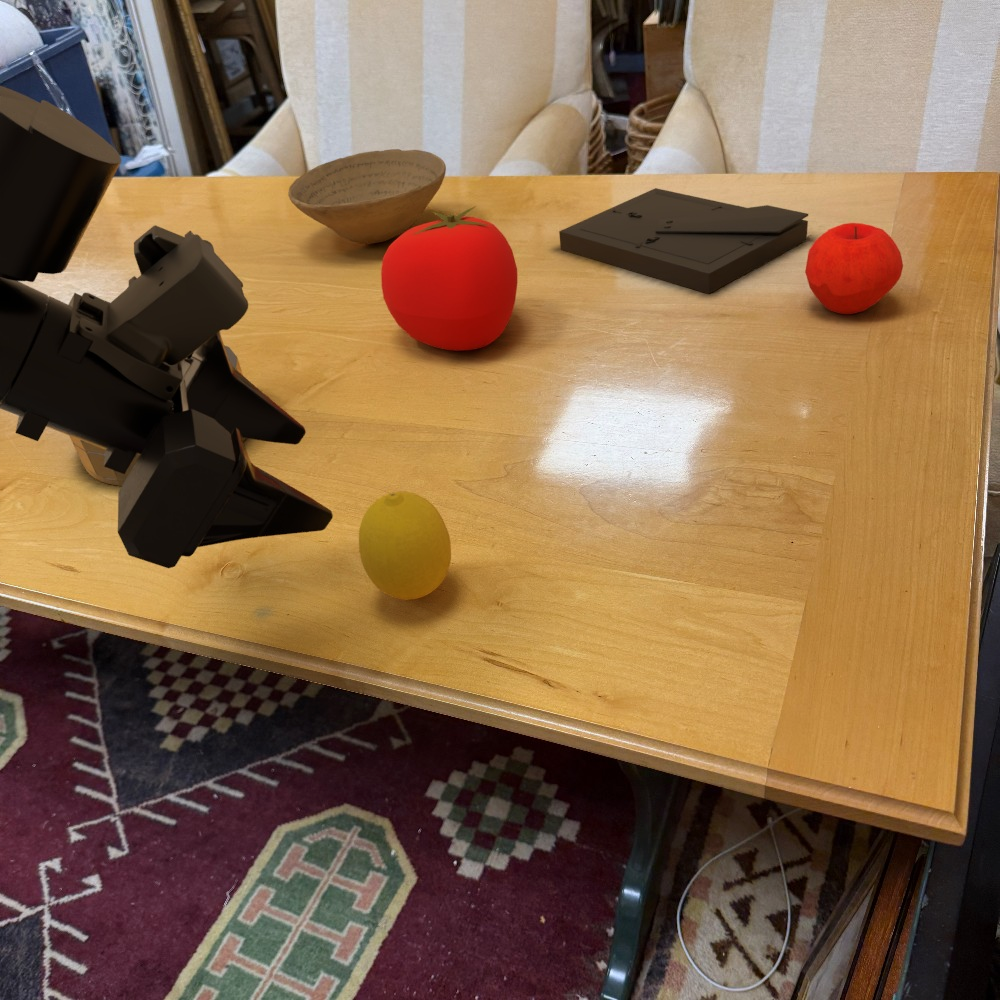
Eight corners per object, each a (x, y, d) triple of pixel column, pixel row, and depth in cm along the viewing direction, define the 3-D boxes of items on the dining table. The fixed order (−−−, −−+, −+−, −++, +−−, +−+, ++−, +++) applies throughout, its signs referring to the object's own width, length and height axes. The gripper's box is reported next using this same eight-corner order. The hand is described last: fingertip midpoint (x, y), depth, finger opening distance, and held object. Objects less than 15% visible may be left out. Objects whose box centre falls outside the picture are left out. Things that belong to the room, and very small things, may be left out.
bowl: (353, 282, 101) (337, 211, 96) (278, 246, 113) (260, 182, 109) (484, 229, 109) (474, 162, 104) (400, 201, 121) (388, 140, 117)
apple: (915, 306, 80) (928, 225, 76) (851, 336, 78) (861, 253, 73) (844, 280, 86) (853, 203, 82) (782, 307, 83) (788, 228, 79)
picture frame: (806, 240, 95) (655, 205, 109) (808, 213, 93) (655, 181, 107) (708, 294, 88) (560, 249, 101) (709, 266, 86) (558, 224, 100)
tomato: (428, 385, 80) (404, 261, 73) (378, 329, 90) (353, 216, 84) (552, 343, 83) (539, 221, 77) (490, 294, 94) (474, 183, 87)
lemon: (474, 575, 59) (455, 475, 54) (433, 634, 55) (410, 531, 50) (400, 559, 61) (377, 461, 56) (357, 614, 57) (327, 514, 52)
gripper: (94, 273, 33) (438, 443, 41) (105, 152, 47) (357, 296, 56) (-31, 510, 36) (312, 622, 44) (15, 328, 50) (267, 439, 59)
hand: (314, 476), depth 51 cm, fingers open, 9 cm apart
